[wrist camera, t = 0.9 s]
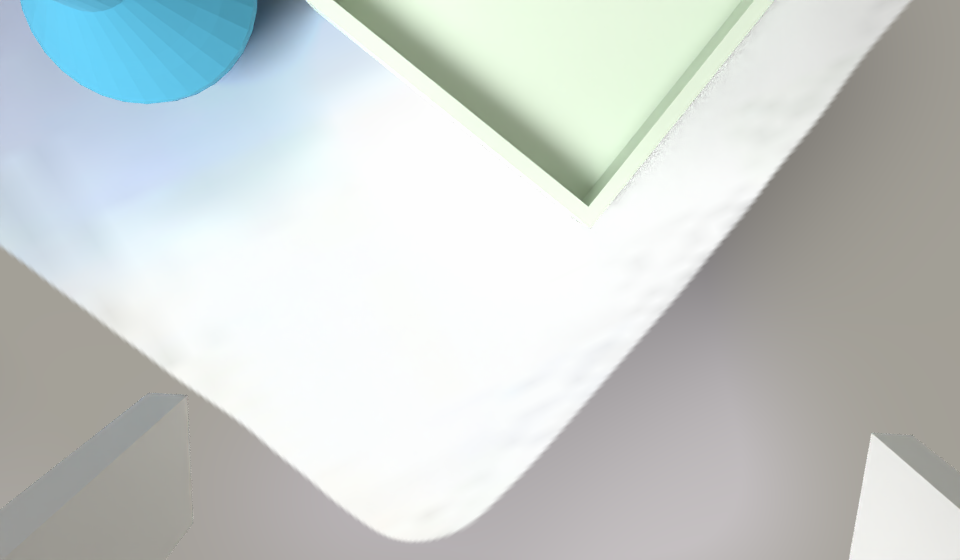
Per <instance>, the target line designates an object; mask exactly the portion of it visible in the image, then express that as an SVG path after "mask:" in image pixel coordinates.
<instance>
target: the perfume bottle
mask: <svg viewBox="0 0 960 560" xmlns="http://www.w3.org/2000/svg"><path fill="white" fill-rule="evenodd" d="M20 1H21V5H22V10H23V12H24V14H25V17H26V19H27V22H28V24H29V26H30V29H31V31H32V33H33V34H34V36H35V38H36V39H37V41H38V42H39V44H40V45H41V47H42V48H43V50H44V52H45V53H46V54H47V55H48V56H49V57H50V58H51V59H52V60H53V62H54V63H55V64H56V65H57V66H58V67H59V68H60V69H61V70H62V71H63V72H65V73H66V74H67V75H69V76H70V77H71V78H73V79H74V80H75V81H77V82H78V83H79V84H81V85H82V86H84V87H86V88H88V89H90V90H92V91H94V92H96V93H98V94H100V95H103V96H106V97H110V98H113V99H116V100H120V101H123V102H132V103H144V104H151V103H160V102H169V101H177V100H180V99H184V98H187V97H190V96H193V95H196V94H198V93H200V92H201V91H203V90H205V89H207V88H208V87H210V86H212V85H214V84H215V83H216V82H217V81H219V80H220V79H221V78H222V77H223V76H224V75H225V74H226V73H227V72H229V71H230V70H231V68H232V67H233V66H234V64H235V63H236V62H237V60H238V59H239V57H240V56H241V55H242V53H243V52H244V49H245V47H246V45H247V43H248V41H249V38H250V36H251V34H252V31H253V26H254V22H255V17H256V13H257V0H20Z"/></svg>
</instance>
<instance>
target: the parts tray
mask: <svg viewBox="0 0 960 560" xmlns="http://www.w3.org/2000/svg"><path fill="white" fill-rule="evenodd" d="M306 1H307V3H308V4H309V5H310V6H311V7H312V8H313V9H314V10H315V11H316V12H317V13H319V14H320V15H321V16H322V17H324V18H325V19H326V20H327V21H329V22H330V23H331V24H332V25H334V26H335V27H336V28H337V29H339V30H340V31H341V32H342V33H344V34H345V35H346V36H347V37H349V38H350V39H351V40H352V41H353V42H355V43H356V44H357V45H358V46H360V47H361V48H362V49H363V50H365V51H366V52H367V53H368V54H370V55H371V56H372V57H373V58H375V59H376V60H377V61H378V62H380V63H381V64H382V65H383V66H385V67H386V68H387V69H388V70H390V71H391V72H392V73H393V74H395V75H396V76H397V77H398V78H400V79H401V80H402V81H403V82H405V83H406V84H407V85H408V86H410V87H411V88H412V89H413V90H415V91H416V92H417V93H418V94H420V95H421V96H422V97H423V98H424V99H426V100H427V101H428V102H429V103H431V104H432V105H433V106H434V107H436V108H437V109H438V110H439V111H441V112H442V113H443V114H444V115H446V116H447V117H448V118H449V119H451V120H452V121H453V122H454V123H456V124H457V125H458V126H459V127H461V128H462V129H463V130H464V131H466V132H467V133H468V134H469V135H471V136H472V137H473V138H474V139H476V140H477V141H478V142H479V143H481V144H482V145H483V146H484V147H486V148H487V149H488V150H489V151H490V152H492V153H493V154H494V155H495V156H497V157H498V158H499V159H500V160H502V161H503V162H504V163H505V164H507V165H508V166H509V167H510V168H512V169H513V170H514V171H515V172H517V173H518V174H519V175H520V176H522V177H523V178H524V179H525V180H527V181H528V182H529V183H530V184H532V185H533V186H534V187H535V188H537V189H538V190H539V191H540V192H542V193H543V194H544V195H545V196H547V197H548V198H549V199H550V200H552V201H553V202H554V203H555V204H557V205H558V206H559V207H560V208H561V209H563V210H564V211H565V212H566V213H568V214H569V215H570V216H571V217H573V218H574V219H575V220H576V221H578V222H579V223H581V224H583V225H585V226H587V227H589V228H591V227H592V226H593V225H594V223H595V222H596V221H597V220H598V219H599V217H600V216H601V215H602V214H603V212H604V211H605V210H606V209H607V207H608V206H609V205H610V204H611V202H612V201H613V200H614V199H615V197H616V196H617V195H618V194H619V192H620V191H621V190H622V189H623V188H624V186H625V185H626V184H627V183H628V181H629V180H630V179H631V178H632V176H633V175H634V174H635V173H636V171H637V170H638V169H639V168H640V166H641V165H642V164H643V163H644V161H645V160H646V159H647V158H648V157H649V155H650V154H651V153H652V152H653V150H654V149H655V148H656V147H657V145H658V144H659V143H660V142H661V140H662V139H663V138H664V137H665V135H666V134H667V133H668V132H669V130H670V129H671V128H672V127H673V126H674V124H675V123H676V122H677V121H678V119H679V118H680V117H681V116H682V114H683V113H684V112H685V111H686V109H687V108H688V107H689V106H690V104H691V103H692V102H693V101H694V99H695V98H696V97H697V96H698V95H699V93H700V92H701V91H702V90H703V88H704V87H705V86H706V85H707V83H708V82H709V81H710V80H711V78H712V77H713V76H714V75H715V73H716V72H717V71H718V70H719V68H720V67H721V66H722V65H723V64H724V62H725V61H726V60H727V59H728V57H729V56H730V55H731V54H732V52H733V51H734V50H735V49H736V47H737V46H738V45H739V44H740V42H741V41H742V40H743V39H744V37H745V36H746V35H747V34H748V33H749V31H750V30H751V29H752V28H753V26H754V25H755V24H756V23H757V21H758V20H759V19H760V18H761V16H762V15H763V14H764V13H765V11H766V10H767V9H768V8H769V6H770V5H771V4H772V3H773V2H774V0H306Z"/></svg>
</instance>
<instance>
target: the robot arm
mask: <svg viewBox="0 0 960 560" xmlns="http://www.w3.org/2000/svg"><path fill="white" fill-rule="evenodd" d="M190 461H191V460H190V439H189V416H188V396H187V395H177V394H158V393H148V394H146V395H145V396H144V397H143V398H141V399H140V400H139V401H137V402H136V403H135V404H134V405H132V406H131V407H130V408H129V409H127V410H126V411H125V412H123V413H122V414H121V415H120V416H118V417H117V418H116V419H115V420H114V421H112V422H111V423H109V424H108V425H107V426H106V427H104V428H103V429H102V430H101V431H99V432H98V433H97V434H95V435H94V436H93V437H92V438H90V439H89V440H88V441H87V442H85V443H84V444H83V445H81V446H80V447H79V448H78V449H76V450H75V451H74V452H73V453H71V454H70V455H69V456H68V457H66V458H65V459H64V460H62V461H61V462H60V463H58V464H57V465H56V466H55V467H53V468H52V469H51V470H50V471H48V472H47V473H46V474H44V475H43V476H42V477H41V478H40V479H38V480H37V481H36V482H34V483H33V484H32V485H30V486H29V487H28V488H27V489H25V490H24V491H23V492H22V493H20V494H19V495H18V496H16V497H15V498H14V499H13V500H11V501H10V502H9V503H8V504H6V505H5V506H4V507H3V508H1V509H0V560H166V559H167V557H168V556H169V555H170V553H171V552H172V551H173V549H174V548H175V547H176V545H177V544H178V543H179V541H180V540H181V539H182V538H183V536H184V535H185V534H186V532H187V531H188V530H189V528H190V527H191V526H192V524H193V504H192V482H191V462H190ZM849 560H960V472H959V471H957V470H956V469H955V468H953V467H952V466H951V465H950V464H948V463H947V462H946V461H944V460H943V459H942V458H941V457H939V456H938V455H937V454H936V453H934V452H933V451H932V450H931V449H929V448H928V447H927V446H925V445H924V444H923V443H922V442H920V441H919V440H918V439H916V438H915V437H914V436H913V435H901V434H882V433H871V439H870V445H869V450H868V456H867V461H866V467H865V473H864V478H863V484H862V489H861V495H860V500H859V506H858V512H857V517H856V523H855V529H854V534H853V540H852V545H851V551H850V557H849Z"/></svg>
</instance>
